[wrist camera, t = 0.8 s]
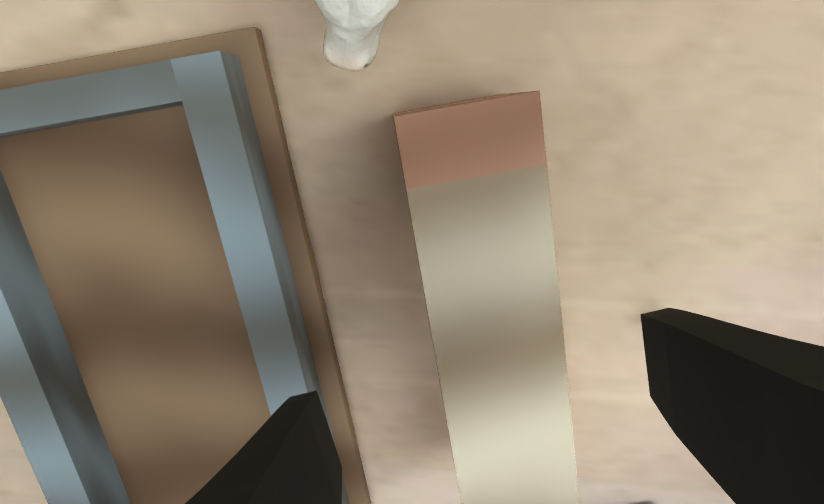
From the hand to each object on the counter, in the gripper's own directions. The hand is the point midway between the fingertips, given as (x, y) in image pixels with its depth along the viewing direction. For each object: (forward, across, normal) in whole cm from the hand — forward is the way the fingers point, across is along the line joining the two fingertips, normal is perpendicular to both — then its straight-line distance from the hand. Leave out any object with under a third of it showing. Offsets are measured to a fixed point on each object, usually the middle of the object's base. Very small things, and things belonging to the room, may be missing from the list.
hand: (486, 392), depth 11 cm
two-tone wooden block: (+10, -1, +1) cm, 10 cm away
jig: (+10, +11, 0) cm, 15 cm away
